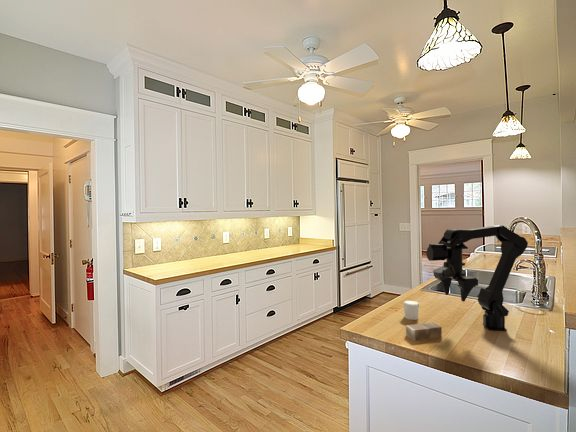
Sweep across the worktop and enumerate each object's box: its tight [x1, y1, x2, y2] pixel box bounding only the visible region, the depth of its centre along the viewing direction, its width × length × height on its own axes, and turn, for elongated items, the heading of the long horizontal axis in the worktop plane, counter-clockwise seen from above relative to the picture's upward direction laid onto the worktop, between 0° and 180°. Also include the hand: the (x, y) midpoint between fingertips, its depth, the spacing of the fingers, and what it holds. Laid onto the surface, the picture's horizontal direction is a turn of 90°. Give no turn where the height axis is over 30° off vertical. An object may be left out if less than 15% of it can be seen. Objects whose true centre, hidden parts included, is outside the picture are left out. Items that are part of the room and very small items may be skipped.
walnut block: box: [405, 321, 443, 341], centre depth 120 cm, size 4×5×12 cm
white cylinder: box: [402, 299, 420, 321], centre depth 139 cm, size 7×7×7 cm
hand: (454, 297), depth 125 cm, fingers open, 9 cm apart
